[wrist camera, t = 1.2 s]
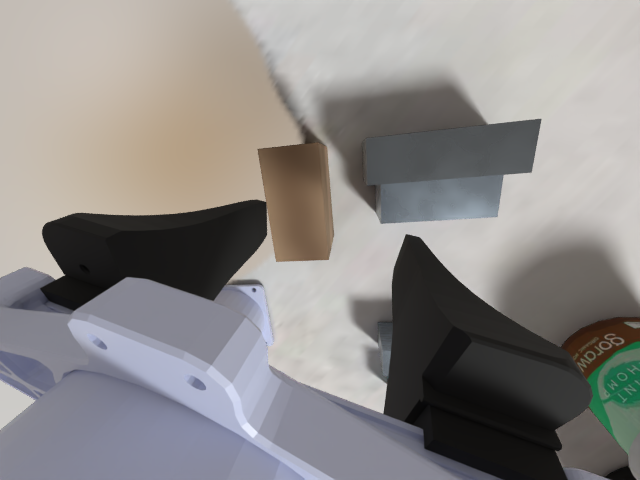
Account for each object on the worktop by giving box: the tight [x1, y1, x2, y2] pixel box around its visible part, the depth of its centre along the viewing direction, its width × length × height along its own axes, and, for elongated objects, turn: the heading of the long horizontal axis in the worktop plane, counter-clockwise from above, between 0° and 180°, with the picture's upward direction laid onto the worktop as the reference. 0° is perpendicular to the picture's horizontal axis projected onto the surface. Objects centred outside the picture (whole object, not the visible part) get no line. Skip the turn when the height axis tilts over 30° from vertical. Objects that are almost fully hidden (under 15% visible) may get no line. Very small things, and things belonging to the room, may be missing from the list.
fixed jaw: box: [362, 119, 541, 224], centre depth 18 cm, size 10×6×5 cm, turn 95°
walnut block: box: [258, 142, 334, 262], centre depth 19 cm, size 4×8×6 cm, turn 5°
